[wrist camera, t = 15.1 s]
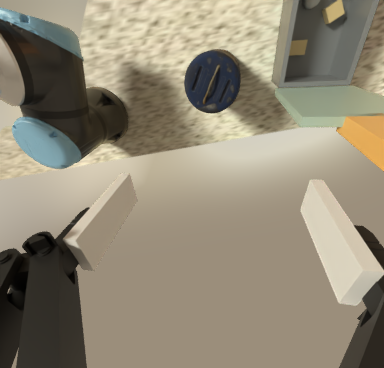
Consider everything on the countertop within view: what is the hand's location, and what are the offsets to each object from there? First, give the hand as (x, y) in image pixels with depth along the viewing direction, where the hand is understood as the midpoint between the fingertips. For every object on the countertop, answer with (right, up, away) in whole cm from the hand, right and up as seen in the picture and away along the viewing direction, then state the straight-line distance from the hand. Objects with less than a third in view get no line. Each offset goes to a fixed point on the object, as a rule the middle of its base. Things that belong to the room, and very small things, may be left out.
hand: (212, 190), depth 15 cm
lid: (+18, +10, +10) cm, 23 cm away
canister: (+5, +26, +31) cm, 41 cm away
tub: (+22, +31, +24) cm, 45 cm away
